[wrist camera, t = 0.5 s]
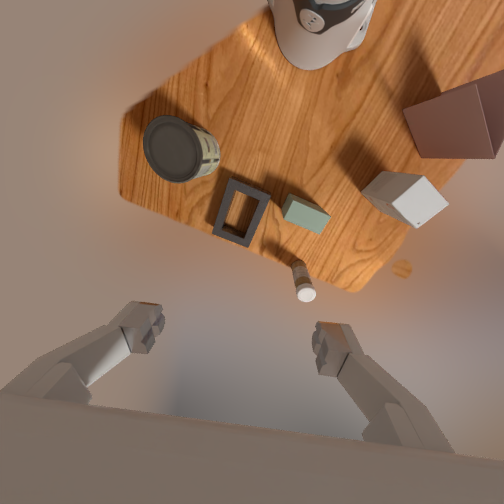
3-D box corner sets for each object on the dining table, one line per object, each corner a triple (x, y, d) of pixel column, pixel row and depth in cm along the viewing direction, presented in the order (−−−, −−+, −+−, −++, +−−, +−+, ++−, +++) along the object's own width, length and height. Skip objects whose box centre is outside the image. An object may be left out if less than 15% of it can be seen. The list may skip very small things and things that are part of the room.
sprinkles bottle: (300, 274, 58) (309, 305, 46) (288, 268, 57) (293, 298, 45) (309, 263, 56) (320, 292, 44) (296, 257, 55) (303, 285, 43)
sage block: (289, 192, 47) (293, 200, 39) (320, 206, 48) (330, 216, 40) (281, 209, 49) (283, 219, 41) (311, 222, 50) (319, 234, 42)
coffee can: (169, 150, 44) (130, 147, 32) (197, 115, 41) (166, 97, 28) (200, 185, 47) (176, 195, 35) (229, 155, 44) (214, 155, 31)
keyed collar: (232, 176, 46) (229, 177, 42) (270, 192, 47) (271, 195, 43) (215, 228, 53) (211, 233, 49) (249, 241, 54) (248, 247, 50)
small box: (403, 191, 44) (451, 204, 33) (380, 212, 47) (416, 230, 36) (382, 169, 43) (424, 174, 31) (359, 191, 45) (390, 204, 34)
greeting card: (425, 157, 41) (501, 158, 28) (389, 160, 42) (446, 162, 28) (446, 92, 36) (551, 53, 22) (405, 96, 37) (483, 62, 23)
